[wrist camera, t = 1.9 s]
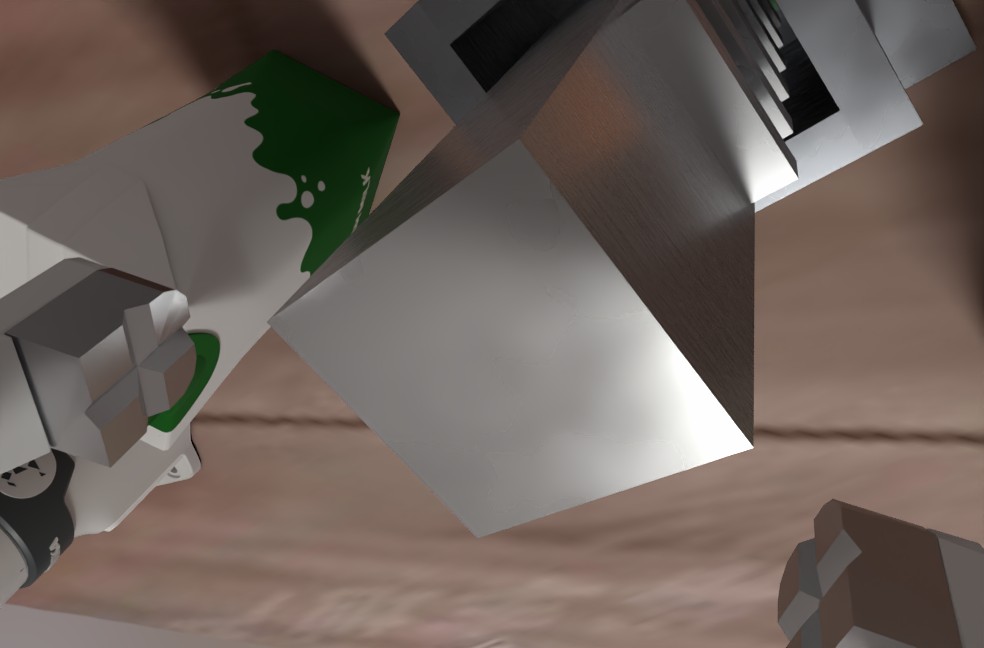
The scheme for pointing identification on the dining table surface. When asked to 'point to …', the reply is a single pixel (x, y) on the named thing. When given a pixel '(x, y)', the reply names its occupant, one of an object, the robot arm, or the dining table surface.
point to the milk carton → (211, 207)
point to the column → (568, 266)
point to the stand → (809, 72)
